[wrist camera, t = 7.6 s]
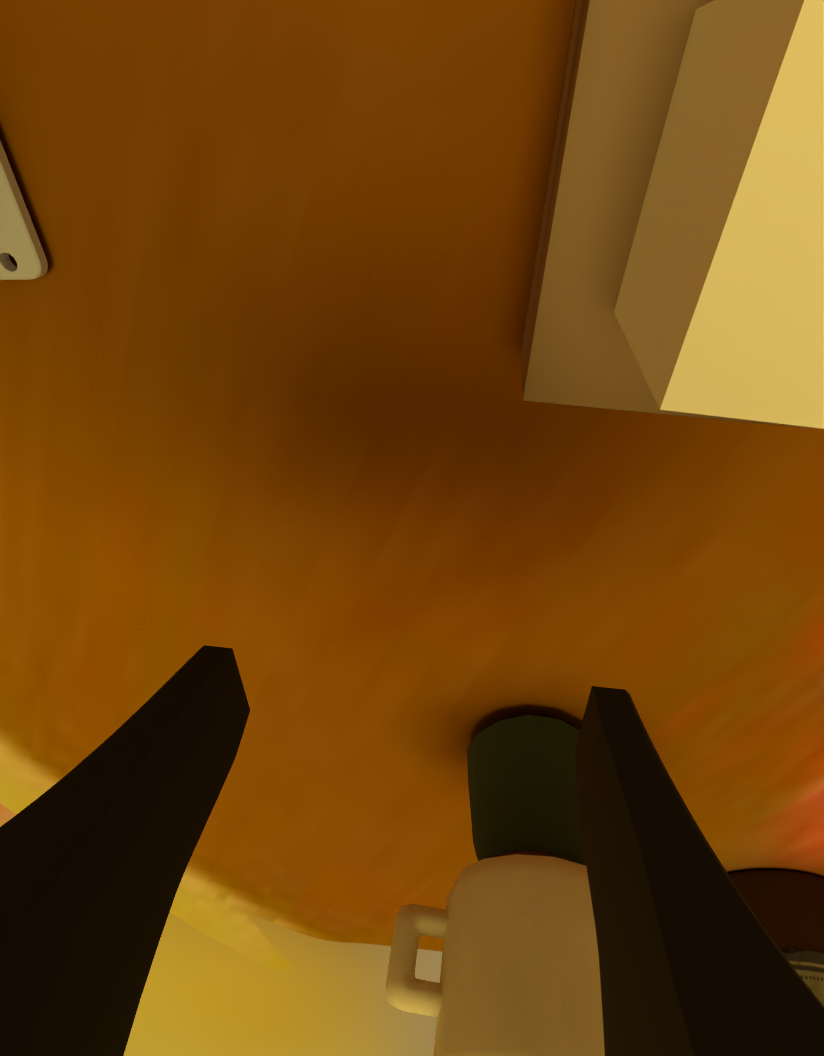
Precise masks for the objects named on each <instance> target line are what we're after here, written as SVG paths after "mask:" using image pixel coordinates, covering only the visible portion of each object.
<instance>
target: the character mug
mask: <svg viewBox="0 0 824 1056" xmlns="http://www.w3.org/2000/svg"><path fill="white" fill-rule="evenodd" d="M579 732H580V730H578V729H576V728H574V727H572V726H571V725H569V724H567V723H565V722H564V721H562V720H560V719H554V718H548V717H541V716H534V715H524V716H520V717H515V718H510V719H505V720H500V721H498V722H496V723H494V724H493V725H491V726H489V727H488V728H486V729H484V730H483V731H481V732H479V733H478V734H477V735H476V736H475V738H474V740H473V741H472V743H471V744H470V746H469V748H468V749H467V754H468V783H469V795H470V807H471V820H472V832H473V843H474V847H475V852H476V856H477V858H478V862H476V863H474V864H472V865H470V866H468V867H466V868H464V869H463V870H462V871H461V873H460V875H459V877H458V878H457V880H456V882H455V884H454V886H453V888H452V890H451V892H450V894H449V896H448V898H447V903H446V910H444V909H438V908H433V907H427V906H422V905H416V904H411V905H406V906H401V908H400V910H399V912H398V914H397V917H396V919H395V925H394V932H393V939H392V946H391V953H390V959H389V967H388V974H387V980H386V991H387V1000H388V1003H390V1004H391V1005H393V1006H394V1007H396V1008H397V1009H399V1010H401V1011H406V1012H411V1013H416V1014H422V1015H427V1016H432V1017H437V1023H436V1036H435V1047H434V1056H605V1051H604V1032H603V1014H602V998H601V983H600V967H599V954H598V945H597V936H596V928H595V921H594V914H593V908H592V901H591V894H590V887H589V881H588V874H587V867H586V860H585V854H584V847H583V840H582V833H581V826H580V819H579V812H578V805H577V788H576V763H575V746H576V743H577V739H578V736H579ZM420 935H427V936H433V937H438V938H443V939H444V940H443V952H442V964H441V976H440V983H435V982H430V981H425V980H420V979H416V978H415V965H416V956H417V947H418V938H419V936H420Z"/></svg>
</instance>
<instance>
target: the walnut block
mask: <svg viewBox="0 0 824 1056" xmlns="http://www.w3.org/2000/svg"><path fill="white" fill-rule="evenodd" d="M712 1H714V0H576V2H575V9H574V15H573V21H572V28H571V34H570V41H569V47H568V53H567V60H566V66H565V73H564V79H563V85H562V92H561V98H560V104H559V111H558V117H557V124H556V130H555V136H554V143H553V149H552V156H551V162H550V168H549V175H548V181H547V187H546V194H545V200H544V207H543V213H542V219H541V226H540V232H539V239H538V245H537V251H536V258H535V264H534V271H533V277H532V283H531V290H530V296H529V302H528V309H527V315H526V322H525V328H524V334H523V341H522V347H521V363H522V391H523V401H532V402H542V403H553V404H563V405H574V406H584V407H594V408H605V409H615V410H626V411H636V412H647V413H657V414H668V415H678V416H689V417H699V418H710V419H720V420H731V421H741V422H752V423H762V424H773V425H783V426H794V427H804V426H796V425H787V424H779V423H770V422H762V421H753V420H744V419H736V418H727V417H719V416H710V415H702V414H693V413H684V412H676V411H667V410H660V409H659V407H658V405H657V402H656V400H655V398H654V396H653V394H652V392H651V390H650V388H649V386H648V383H647V381H646V379H645V377H644V375H643V373H642V371H641V369H640V367H639V364H638V362H637V360H636V358H635V356H634V354H633V352H632V350H631V348H630V345H629V343H628V341H627V339H626V337H625V335H624V333H623V331H622V329H621V326H620V324H619V322H618V320H617V318H616V316H615V314H614V310H615V307H616V303H617V299H618V296H619V292H620V288H621V284H622V281H623V277H624V273H625V270H626V266H627V262H628V258H629V255H630V251H631V247H632V244H633V240H634V236H635V233H636V229H637V225H638V221H639V218H640V214H641V210H642V207H643V203H644V199H645V196H646V192H647V188H648V184H649V181H650V177H651V173H652V170H653V166H654V162H655V158H656V155H657V151H658V147H659V144H660V140H661V136H662V133H663V129H664V125H665V121H666V118H667V114H668V110H669V107H670V103H671V99H672V96H673V92H674V88H675V84H676V81H677V77H678V73H679V70H680V66H681V62H682V59H683V55H684V51H685V47H686V44H687V40H688V36H689V33H690V29H691V25H692V21H693V18H694V14H695V10H696V9H698V8H700V7H702V6H704V5H706V4H708V3H710V2H712ZM804 428H813V427H804ZM815 429H822V428H815Z"/></svg>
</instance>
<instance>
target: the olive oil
mask: <svg viewBox="0 0 824 1056" xmlns="http://www.w3.org/2000/svg"><path fill="white" fill-rule="evenodd" d="M728 875H729V876H730V878H731V880H732V881H733V883H734V884H735V886H736V887H737V889H738V890H739V892H740V893H741V895H742V896H743V898H744V899H745V901H746V902H747V903H748V905H749V906H750V908H751V909H752V911H753V912H754V913H755V915H756V916H757V918H758V919H759V921H760V922H761V923H762V925H763V926H764V928H765V929H766V931H767V932H768V933H769V935H770V936H771V938H772V939H773V940H774V942H775V943H776V944H777V946H778V947H779V948H780V950H781V951H782V953H783V954H784V955H785V957H786V958H787V959H788V961H789V962H790V963H791V965H792V966H793V967H794V969H795V970H796V972H797V973H798V974H799V976H800V977H801V978H802V979H803V981H804V982H805V983H806V985H807V986H808V987H809V988H810V990H811V991H812V992H813V993H814V995H815V996H816V997H817V998H818V1000H819V1001H820V1002H821V1003H822V1005H823V1006H824V878H821V877H818V876H814V875H810V874H805V873H799V872H792V871H781V870H753V871H742V872H735V873H730V874H728Z"/></svg>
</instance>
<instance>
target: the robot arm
mask: <svg viewBox="0 0 824 1056" xmlns="http://www.w3.org/2000/svg"><path fill="white" fill-rule="evenodd" d="M9 254H10V255H11V256H13V257H14V259H15V260H16V262H17V267H16V266H15V265H13V264H12V262H11V261H10V258H9ZM47 269H48V264H47V259H46V256H45V254H44V251H43V249H42V246H41V244H40V241H39V238H38V236H37V233H36V231H35V228H34V226H33V223H32V220H31V218H30V215H29V213H28V210H27V208H26V205H25V202H24V200H23V197H22V195H21V192H20V190H19V187H18V184H17V182H16V179H15V177H14V174H13V172H12V169H11V166H10V164H9V161H8V159H7V156H6V154H5V151H4V148H3V146H2V143H1V141H0V280H26V279H35V278H39V277H41V276H44V275H45V273H46V272H47ZM249 712H250V708H249V705H248V701H247V698H246V694H245V691H244V687H243V684H242V681H241V677H240V674H239V670H238V667H237V663H236V660H235V656H234V653H233V649H232V648H223V647H213V646H203V647H202V648H201V649H200V650H199V651H198V652H197V653H196V654H195V655H194V656H193V657H191V658H190V659H189V660H188V661H187V662H186V663H185V664H184V665H183V666H182V667H181V668H180V669H179V670H178V671H177V672H176V673H175V674H174V675H173V676H172V677H171V678H170V679H169V680H168V681H167V682H166V683H165V684H164V685H163V686H162V687H161V688H160V689H159V690H158V691H157V692H156V693H155V694H154V695H153V696H152V697H151V698H150V699H149V700H148V701H147V702H146V703H145V704H144V705H143V706H142V707H141V708H140V709H139V710H138V711H137V712H136V713H135V714H133V715H132V716H131V717H130V718H129V719H128V720H127V721H126V722H125V723H124V724H123V725H122V726H121V727H120V728H119V729H118V730H117V731H116V732H114V733H113V734H112V735H111V736H110V737H109V738H108V739H107V740H106V741H105V742H103V743H102V744H101V745H100V746H99V747H98V748H97V749H95V750H94V751H93V752H92V753H91V754H90V755H89V756H88V757H86V758H85V759H84V760H83V761H82V762H81V763H80V764H78V765H77V766H76V767H75V768H74V769H73V770H72V771H70V772H69V773H68V774H67V775H66V776H65V777H63V778H62V779H61V780H60V781H59V782H57V783H56V784H55V785H54V786H52V787H51V788H50V789H49V790H48V791H46V792H45V793H44V794H43V795H41V796H40V797H39V798H38V799H36V800H35V801H34V802H33V803H31V804H30V805H29V806H27V807H26V808H25V809H24V810H22V811H21V812H20V813H18V814H17V815H16V816H15V817H13V818H12V819H11V820H9V821H8V822H7V823H5V824H4V825H2V826H1V827H0V1056H123V1055H124V1051H125V1048H126V1044H127V1041H128V1038H129V1035H130V1031H131V1028H132V1025H133V1021H134V1018H135V1015H136V1011H137V1008H138V1005H139V1001H140V998H141V995H142V992H143V989H144V986H145V983H146V980H147V977H148V974H149V971H150V968H151V964H152V961H153V958H154V955H155V952H156V949H157V946H158V943H159V940H160V937H161V934H162V931H163V929H164V926H165V923H166V920H167V917H168V914H169V911H170V909H171V906H172V903H173V900H174V897H175V894H176V891H177V889H178V886H179V884H180V882H181V879H182V877H183V874H184V872H185V869H186V867H187V865H188V862H189V860H190V858H191V856H192V853H193V851H194V849H195V847H196V845H197V842H198V840H199V838H200V836H201V833H202V831H203V829H204V827H205V825H206V822H207V820H208V818H209V816H210V814H211V811H212V809H213V807H214V805H215V802H216V800H217V798H218V796H219V793H220V791H221V789H222V787H223V784H224V782H225V780H226V778H227V775H228V773H229V771H230V769H231V766H232V764H233V762H234V759H235V757H236V754H237V750H238V747H239V744H240V741H241V738H242V735H243V732H244V728H245V725H246V722H247V718H248V715H249ZM575 763H576V788H577V805H578V812H579V819H580V826H581V833H582V840H583V847H584V854H585V860H586V867H587V874H588V881H589V887H590V894H591V901H592V908H593V914H594V921H595V928H596V936H597V945H598V954H599V967H600V983H601V998H602V1014H603V1032H604V1051H605V1056H824V1006H823V1005H822V1003H821V1002H820V1001H819V1000H818V998H817V997H816V996H815V995H814V993H813V992H812V991H811V990H810V988H809V987H808V986H807V985H806V983H805V982H804V981H803V979H802V978H801V977H800V976H799V974H798V973H797V972H796V970H795V969H794V967H793V966H792V965H791V963H790V962H789V961H788V959H787V958H786V957H785V955H784V954H783V953H782V951H781V950H780V948H779V947H778V946H777V944H776V943H775V942H774V940H773V939H772V938H771V936H770V935H769V933H768V932H767V931H766V929H765V928H764V926H763V925H762V923H761V922H760V921H759V919H758V918H757V916H756V915H755V913H754V912H753V911H752V909H751V908H750V906H749V905H748V903H747V902H746V901H745V899H744V898H743V896H742V895H741V893H740V892H739V890H738V889H737V887H736V886H735V884H734V883H733V881H732V880H731V878H730V876H729V875H728V873H727V872H726V870H725V869H724V867H723V866H722V864H721V862H720V861H719V859H718V858H717V856H716V855H715V853H714V851H713V850H712V848H711V847H710V845H709V843H708V842H707V840H706V839H705V837H704V835H703V834H702V832H701V830H700V829H699V827H698V825H697V824H696V822H695V820H694V819H693V817H692V815H691V813H690V812H689V810H688V808H687V806H686V804H685V803H684V801H683V799H682V797H681V796H680V794H679V792H678V790H677V789H676V787H675V785H674V783H673V781H672V780H671V778H670V776H669V774H668V772H667V770H666V769H665V767H664V765H663V763H662V761H661V759H660V757H659V755H658V753H657V751H656V749H655V747H654V745H653V743H652V741H651V739H650V737H649V735H648V733H647V731H646V729H645V727H644V725H643V723H642V721H641V719H640V716H639V714H638V712H637V710H636V708H635V705H634V703H633V701H632V698H631V696H630V694H629V693H628V692H627V691H626V690H623V689H613V688H604V687H594V686H592V689H591V692H590V696H589V699H588V703H587V707H586V710H585V714H584V718H583V721H582V725H581V728H580V732H579V736H578V739H577V743H576V746H575Z"/></svg>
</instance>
